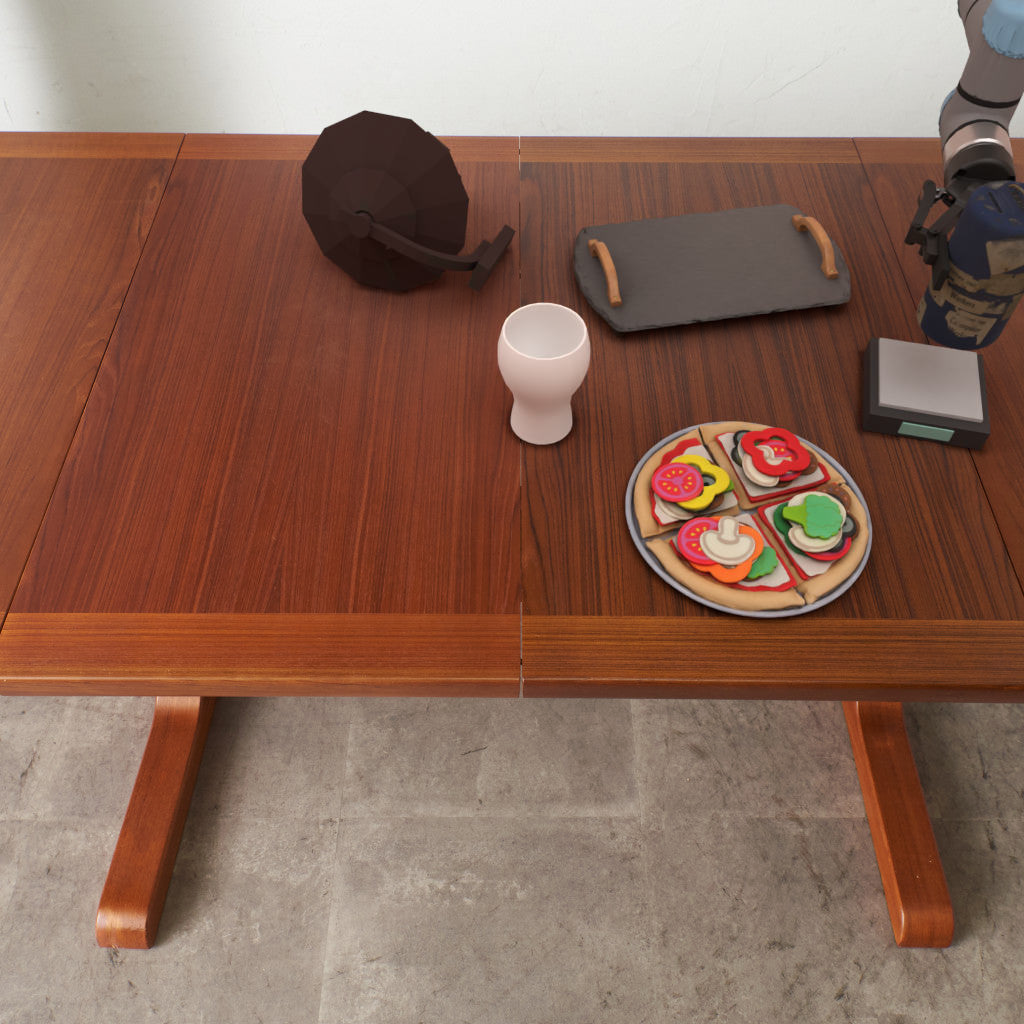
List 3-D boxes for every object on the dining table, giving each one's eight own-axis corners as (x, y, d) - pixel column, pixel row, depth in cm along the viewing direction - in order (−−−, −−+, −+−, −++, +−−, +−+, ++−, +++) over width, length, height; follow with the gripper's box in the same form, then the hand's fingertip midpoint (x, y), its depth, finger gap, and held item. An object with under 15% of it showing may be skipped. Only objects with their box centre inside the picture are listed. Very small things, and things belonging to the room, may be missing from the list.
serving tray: (595, 350, 120) (598, 314, 115) (557, 244, 134) (559, 208, 129) (866, 313, 124) (881, 277, 119) (803, 215, 138) (814, 178, 133)
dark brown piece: (386, 50, 129) (304, 85, 105) (559, 156, 132) (518, 213, 108) (330, 197, 143) (247, 257, 119) (488, 290, 146) (438, 367, 122)
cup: (563, 382, 116) (569, 290, 104) (597, 440, 110) (607, 349, 98) (486, 404, 114) (483, 312, 102) (517, 464, 108) (517, 373, 96)
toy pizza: (788, 404, 114) (797, 380, 110) (918, 578, 98) (933, 555, 95) (587, 462, 108) (589, 437, 105) (691, 655, 93) (698, 634, 89)
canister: (912, 349, 103) (977, 213, 89) (911, 296, 109) (972, 160, 94) (999, 363, 102) (1080, 227, 87) (994, 309, 107) (1069, 173, 93)
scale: (973, 371, 117) (984, 351, 115) (980, 451, 109) (993, 431, 106) (863, 354, 119) (871, 333, 117) (862, 431, 111) (871, 411, 108)
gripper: (1060, 211, 109) (1084, 332, 96) (873, 185, 113) (872, 299, 100) (1092, 154, 103) (1123, 275, 90) (893, 129, 107) (895, 242, 94)
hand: (991, 288), depth 95 cm, fingers closed on canister, 9 cm apart
